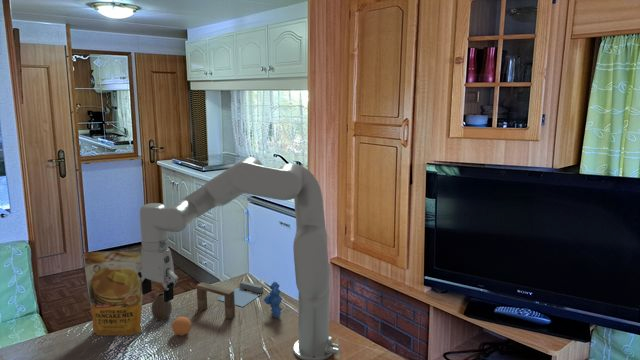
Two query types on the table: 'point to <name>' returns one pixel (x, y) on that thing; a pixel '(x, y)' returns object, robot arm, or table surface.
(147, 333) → the table surface
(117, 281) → the pancake mix bag
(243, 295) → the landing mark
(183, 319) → the ball
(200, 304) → the bridge
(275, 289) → the blue lumpy cluster
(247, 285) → the stopper wall
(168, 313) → the vase
